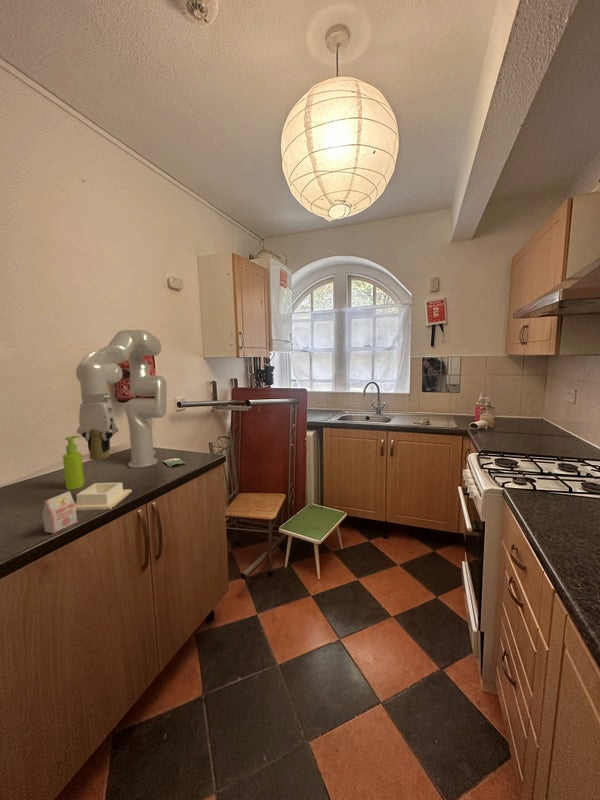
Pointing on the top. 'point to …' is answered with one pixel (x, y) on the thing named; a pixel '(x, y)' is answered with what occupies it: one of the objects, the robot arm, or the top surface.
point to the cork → (97, 445)
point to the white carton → (59, 512)
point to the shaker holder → (101, 496)
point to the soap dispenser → (73, 465)
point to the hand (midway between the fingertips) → (99, 450)
